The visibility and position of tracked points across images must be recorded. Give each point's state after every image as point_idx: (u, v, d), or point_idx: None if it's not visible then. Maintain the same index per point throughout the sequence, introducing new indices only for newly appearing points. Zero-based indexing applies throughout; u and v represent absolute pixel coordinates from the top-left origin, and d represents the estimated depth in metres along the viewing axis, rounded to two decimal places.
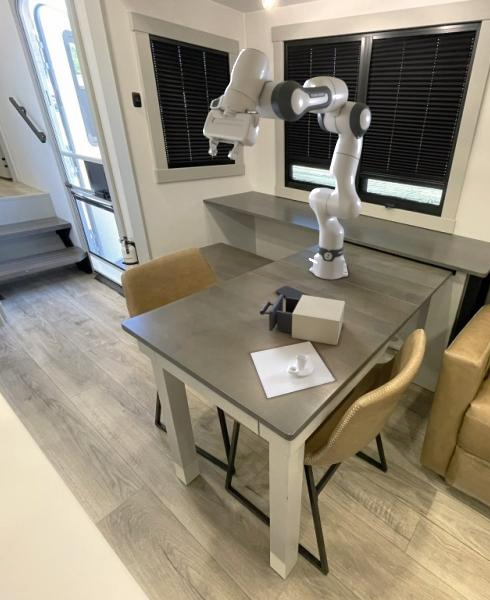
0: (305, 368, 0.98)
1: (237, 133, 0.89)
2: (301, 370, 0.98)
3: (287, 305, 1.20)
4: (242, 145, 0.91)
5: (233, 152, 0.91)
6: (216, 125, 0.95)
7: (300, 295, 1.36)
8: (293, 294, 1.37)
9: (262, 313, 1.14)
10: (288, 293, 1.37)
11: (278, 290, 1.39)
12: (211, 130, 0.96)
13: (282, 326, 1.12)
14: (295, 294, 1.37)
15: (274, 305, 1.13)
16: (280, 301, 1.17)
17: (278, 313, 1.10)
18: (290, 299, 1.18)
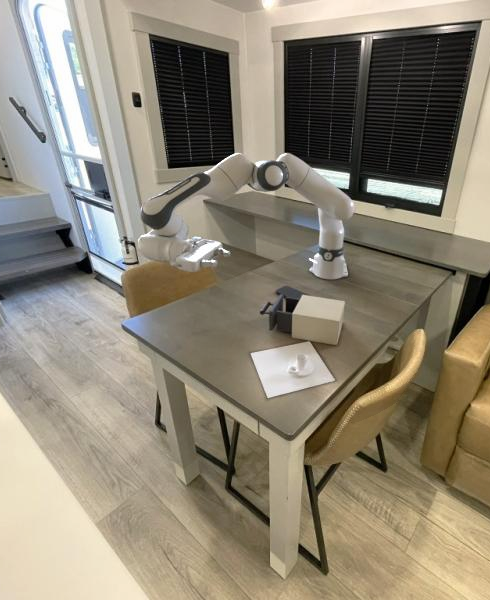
0: (305, 368, 0.98)
1: None
2: (301, 370, 0.98)
3: (287, 305, 1.20)
4: (201, 262, 1.05)
5: (211, 266, 1.06)
6: None
7: (300, 295, 1.36)
8: (293, 294, 1.37)
9: (262, 313, 1.14)
10: (288, 293, 1.37)
11: (278, 290, 1.39)
12: None
13: (282, 326, 1.12)
14: (295, 294, 1.37)
15: (274, 305, 1.13)
16: (280, 301, 1.17)
17: (278, 313, 1.10)
18: (290, 299, 1.18)
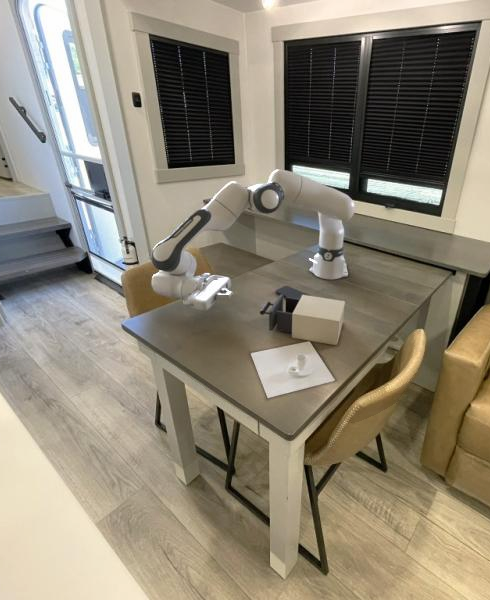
0: (305, 368, 0.98)
1: None
2: (301, 370, 0.98)
3: (287, 305, 1.20)
4: (217, 295, 1.15)
5: (226, 298, 1.16)
6: None
7: (300, 295, 1.36)
8: (293, 294, 1.37)
9: (262, 313, 1.14)
10: (288, 293, 1.37)
11: (278, 290, 1.39)
12: None
13: (282, 326, 1.12)
14: (295, 294, 1.37)
15: (274, 305, 1.13)
16: (280, 301, 1.17)
17: (278, 313, 1.10)
18: (290, 299, 1.18)
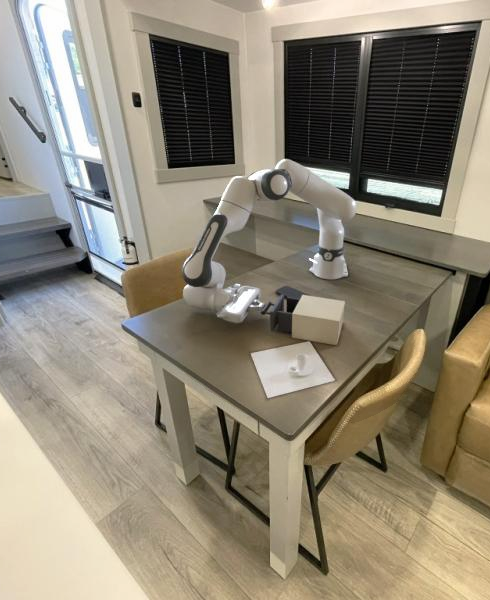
0: (305, 368, 0.98)
1: None
2: (301, 370, 0.98)
3: (288, 305, 1.20)
4: (249, 307, 1.15)
5: (258, 310, 1.16)
6: None
7: (300, 295, 1.36)
8: (293, 294, 1.37)
9: (263, 313, 1.14)
10: (288, 293, 1.37)
11: (278, 290, 1.39)
12: None
13: (283, 326, 1.12)
14: (295, 294, 1.37)
15: (275, 305, 1.13)
16: (281, 301, 1.17)
17: (279, 313, 1.10)
18: (291, 299, 1.18)
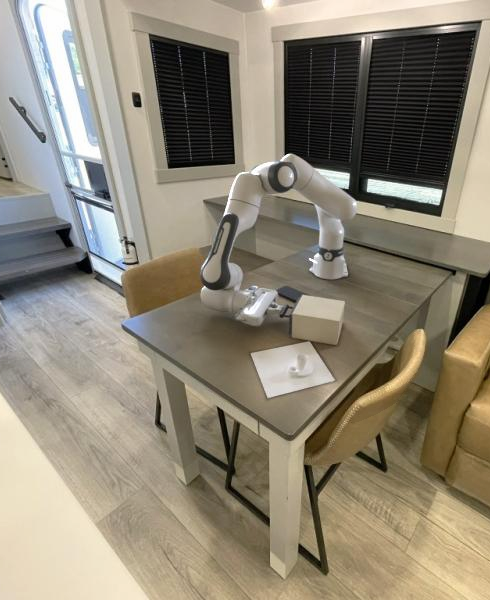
0: (305, 368, 0.98)
1: None
2: (301, 370, 0.98)
3: None
4: (268, 310, 1.14)
5: (276, 312, 1.15)
6: None
7: (300, 295, 1.36)
8: (293, 294, 1.37)
9: (281, 316, 1.13)
10: (288, 293, 1.37)
11: (278, 290, 1.39)
12: None
13: None
14: (295, 294, 1.37)
15: (294, 308, 1.12)
16: None
17: None
18: None
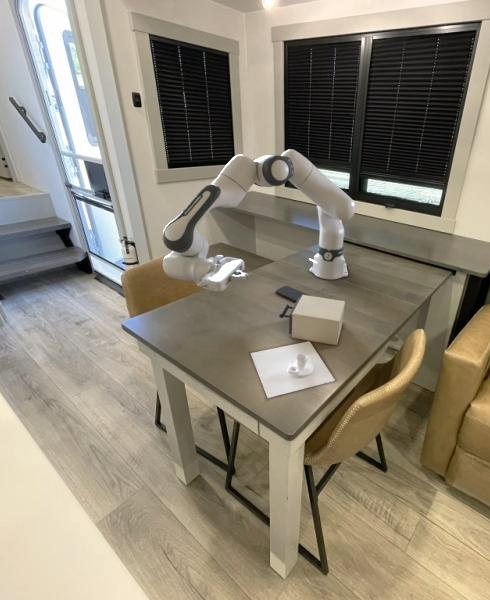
0: (305, 368, 0.98)
1: None
2: (301, 370, 0.98)
3: None
4: (231, 277, 1.10)
5: (240, 280, 1.11)
6: None
7: (300, 295, 1.36)
8: (293, 294, 1.37)
9: (281, 316, 1.13)
10: (288, 293, 1.37)
11: (278, 290, 1.39)
12: None
13: None
14: (295, 294, 1.37)
15: (294, 308, 1.12)
16: None
17: None
18: None
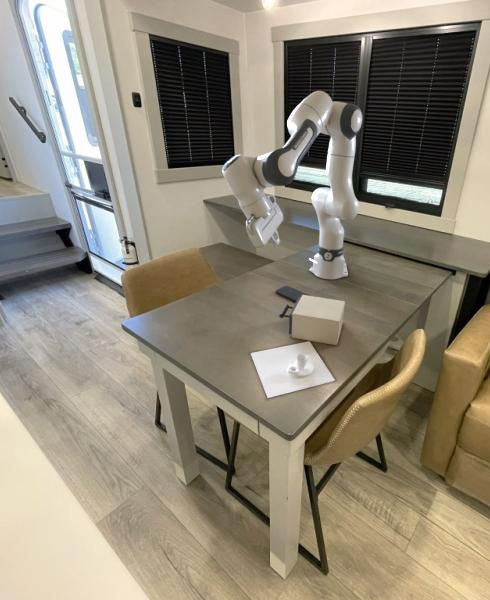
0: (305, 368, 0.98)
1: None
2: (301, 370, 0.98)
3: None
4: None
5: (272, 243, 1.11)
6: None
7: (300, 295, 1.36)
8: (293, 294, 1.37)
9: (281, 316, 1.13)
10: (288, 293, 1.37)
11: (278, 290, 1.39)
12: None
13: None
14: (295, 294, 1.37)
15: (294, 308, 1.12)
16: None
17: None
18: None
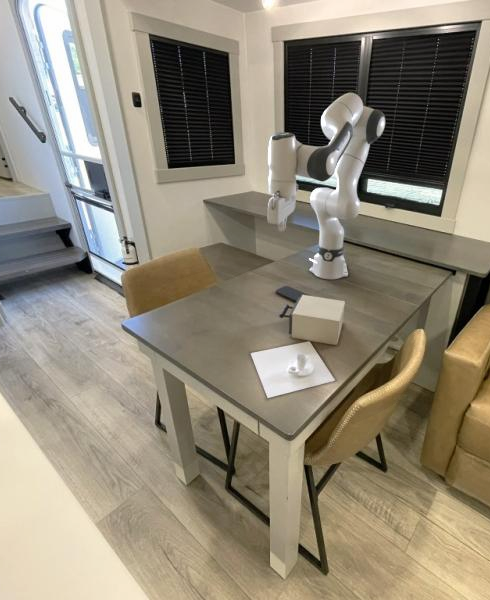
0: (305, 368, 0.98)
1: None
2: (301, 370, 0.98)
3: None
4: None
5: (279, 226, 1.11)
6: None
7: (300, 295, 1.36)
8: (293, 294, 1.37)
9: (281, 316, 1.13)
10: (288, 293, 1.37)
11: (278, 290, 1.39)
12: None
13: None
14: (295, 294, 1.37)
15: (294, 308, 1.12)
16: None
17: None
18: None
